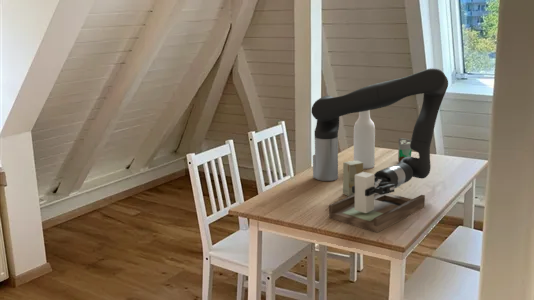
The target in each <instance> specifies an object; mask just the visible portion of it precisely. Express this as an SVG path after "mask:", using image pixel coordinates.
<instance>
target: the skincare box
mask: <svg viewBox="0 0 534 300" xmlns="http://www.w3.org/2000/svg"><path fill="white" fill-rule="evenodd" d="M342 168H343V169H342V194H343V195H344V196H347V197H349V196H352V195H354V194H355V193H353V192H352V186H355V175H356V174H358V173H361V172H364V169H363V163H362V162H360V161H357V160H355V161H354V160H349V161H344V162H343V166H342Z"/></svg>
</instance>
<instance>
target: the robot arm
mask: <svg viewBox="0 0 534 300" xmlns="http://www.w3.org/2000/svg"><path fill="white" fill-rule="evenodd" d="M448 87H449V79H448V78H447V76H446V74H445V73H444V72H443V71H442V70H441V69H439V68H437V67H431V68H427V69H424V70H420V71H419V72H415V73H412V74H410V75H407V76H404V77H401V78H395V79H391V80H386V81H382V82H378V83H373V84H370V85H366V86H363V87H360V88H359V89H356V90H353V91H352V92H349V93H347V94H344V95H340V96H331V95H324V96H321V97H320V98H318V99H316V101H315V102H314V103H313V104H312V107H311V115H312V117H313V118H314V119H315V120H316V125H315V129H314V154H313V155H312V178H313V179H316V180H318V181H321V182H322V181H323V182H332V181H335V180H338V178H339V138H338V137H339V130H340V117H342V116H345V115H349V114H353V113H354V114H355V113H359V112H363V111H368V110H370V111H371V110H377V109H381V108H386V107H388V106H391V105H394V104H395V103H398V102H399V101H401V100H403V99H405V98H408V97H410V96H411V97H412V96H416V95H422V94H423V98H422V106H421V108H420V113H419V115H418V116H417V119H416V122H415V123H414V126H413V130H412V134H411V135H412V136H411V139H410V140H411V143H410V148H411V149H412V151H414V152H417V153H418V157H414V156H411V157H405V158H403V159H402V160H401V161H400V162H399V163H398V162H397V164H394V165H389V166H387V167H385V168H383V169H380V170H378V171H376V172H375V173H373V174H374V186H373V187H370V188H368V189H366V190H365V196H370V195H372V194H377V193H379V195H383V194H387V193H389V194H392V193H395V189H397V188H398V187H400V186H402V185H403V184H406V183H408V182H409V181H410V180H412V178H416V179H422V180H423V179H425V178H427V177H429V176H428V175H429V174H430V172H431V167H432V165H431V146H432V145H431V144H432V140H433V137H434V130H435V126H436V123H437V117H438V114H439V110H440V108H441V104H442V102H443V99H444V97H445V95H446V92H447V90H448ZM352 192H353V193H355V186H352Z"/></svg>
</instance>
